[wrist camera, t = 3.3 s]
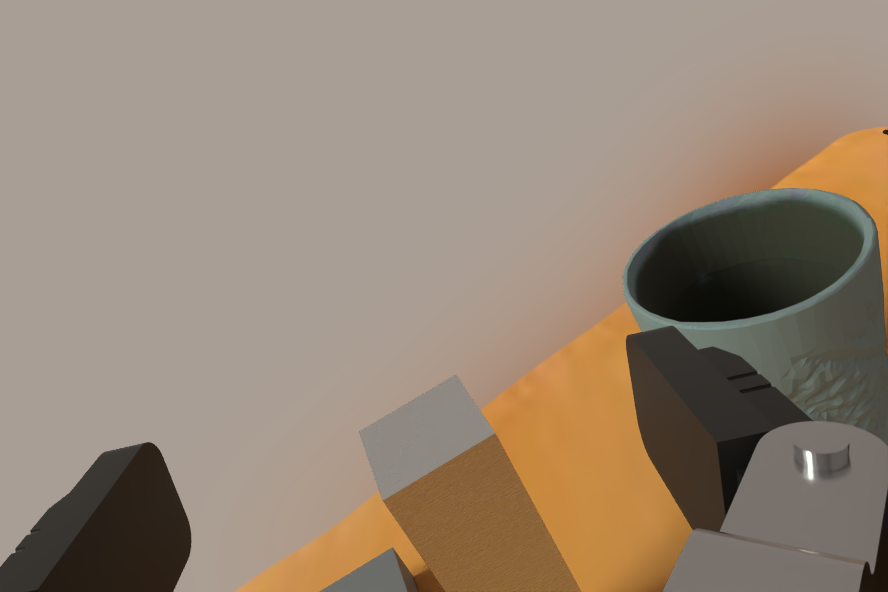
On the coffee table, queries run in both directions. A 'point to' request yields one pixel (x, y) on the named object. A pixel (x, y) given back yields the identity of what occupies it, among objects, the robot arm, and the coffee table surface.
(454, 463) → the square bit
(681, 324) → the green embossed pot
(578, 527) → the coffee table surface
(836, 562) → the robot arm
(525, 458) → the coffee table surface
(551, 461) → the coffee table surface
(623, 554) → the coffee table surface
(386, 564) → the socket board
